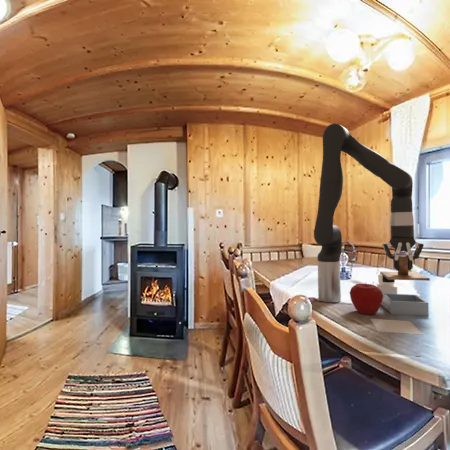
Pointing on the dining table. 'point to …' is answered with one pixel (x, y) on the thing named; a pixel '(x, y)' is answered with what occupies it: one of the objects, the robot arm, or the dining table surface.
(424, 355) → the dining table surface
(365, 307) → the apple
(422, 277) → the lid
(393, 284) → the medicine bottle
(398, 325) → the mat
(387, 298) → the grey open box
